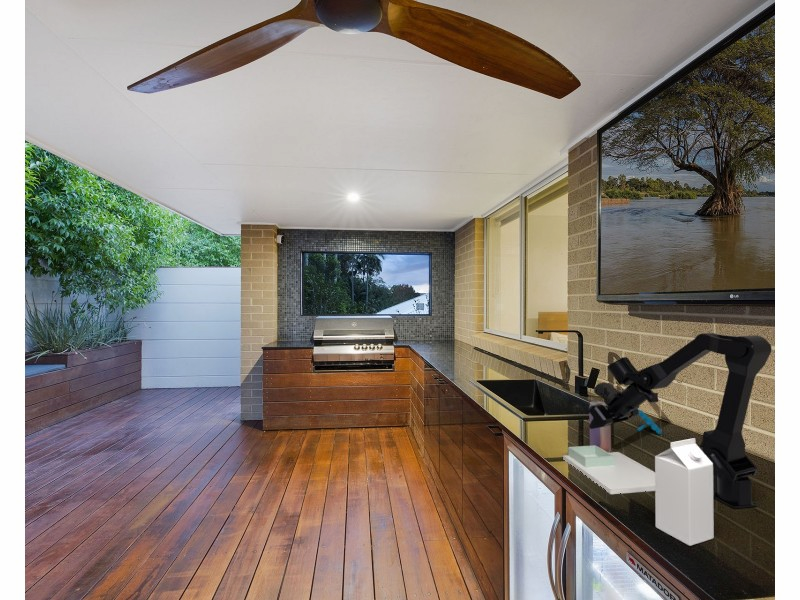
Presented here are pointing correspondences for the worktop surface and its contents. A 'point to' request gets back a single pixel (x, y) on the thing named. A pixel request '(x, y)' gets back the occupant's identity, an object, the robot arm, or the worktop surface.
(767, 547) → the worktop surface
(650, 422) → the blue irregular branched piece
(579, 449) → the housing plate
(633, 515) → the worktop surface
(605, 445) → the beverage can
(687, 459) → the milk carton
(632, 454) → the worktop surface
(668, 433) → the worktop surface
